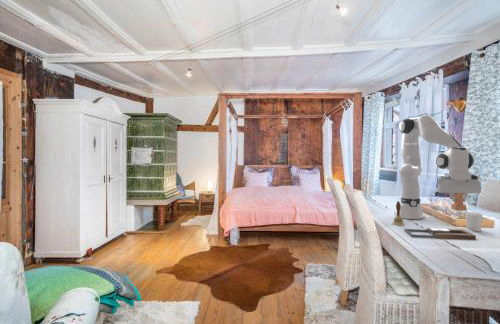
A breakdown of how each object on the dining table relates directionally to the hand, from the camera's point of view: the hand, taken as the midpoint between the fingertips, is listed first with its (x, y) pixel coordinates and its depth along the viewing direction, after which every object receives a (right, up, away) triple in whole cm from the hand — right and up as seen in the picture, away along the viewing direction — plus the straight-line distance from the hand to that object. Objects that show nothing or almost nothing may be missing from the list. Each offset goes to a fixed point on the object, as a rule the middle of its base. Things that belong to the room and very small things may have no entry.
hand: (458, 201), depth 157 cm
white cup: (+20, -20, +15) cm, 32 cm away
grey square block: (-11, -19, +3) cm, 22 cm away
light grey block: (-7, -19, +2) cm, 20 cm away
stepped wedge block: (0, -5, 0) cm, 5 cm away
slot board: (-4, -20, +2) cm, 21 cm away
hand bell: (-19, -20, +27) cm, 38 cm away
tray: (-19, -20, +4) cm, 28 cm away
